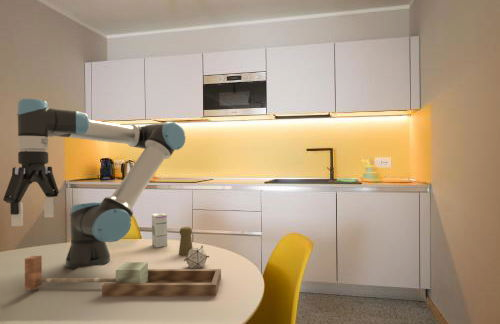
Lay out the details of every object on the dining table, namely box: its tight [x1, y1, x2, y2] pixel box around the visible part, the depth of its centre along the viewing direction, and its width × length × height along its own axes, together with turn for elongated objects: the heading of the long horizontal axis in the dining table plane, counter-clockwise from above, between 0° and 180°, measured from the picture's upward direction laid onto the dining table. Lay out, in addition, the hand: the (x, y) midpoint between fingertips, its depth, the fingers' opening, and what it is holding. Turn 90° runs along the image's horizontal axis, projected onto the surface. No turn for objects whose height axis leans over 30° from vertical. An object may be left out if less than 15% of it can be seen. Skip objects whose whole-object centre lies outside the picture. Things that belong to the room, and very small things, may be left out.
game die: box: [183, 245, 210, 269], centre depth 113 cm, size 9×8×10 cm
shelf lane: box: [101, 268, 222, 297], centre depth 95 cm, size 32×13×4 cm, turn 89°
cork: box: [178, 226, 194, 257], centre depth 133 cm, size 6×6×11 cm
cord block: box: [24, 255, 149, 290], centre depth 95 cm, size 35×7×9 cm, turn 89°
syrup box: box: [151, 212, 168, 248], centre depth 146 cm, size 6×6×14 cm
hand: (34, 221), depth 95 cm, fingers open, 13 cm apart
